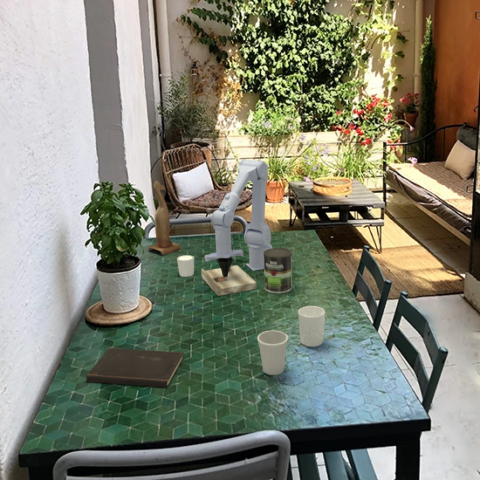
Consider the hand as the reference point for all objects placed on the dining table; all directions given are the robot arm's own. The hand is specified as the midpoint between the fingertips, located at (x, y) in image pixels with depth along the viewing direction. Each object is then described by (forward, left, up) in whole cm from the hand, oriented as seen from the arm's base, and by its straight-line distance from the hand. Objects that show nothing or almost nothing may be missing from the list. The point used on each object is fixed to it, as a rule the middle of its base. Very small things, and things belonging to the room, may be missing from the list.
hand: (225, 276), depth 220 cm
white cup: (-8, +54, -4) cm, 55 cm away
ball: (+2, 0, -2) cm, 2 cm away
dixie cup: (+8, +64, -4) cm, 65 cm away
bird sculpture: (+12, -50, -4) cm, 51 cm away
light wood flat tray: (-2, -1, -3) cm, 4 cm away
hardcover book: (+43, +48, -4) cm, 65 cm away
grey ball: (-4, -8, +1) cm, 8 cm away
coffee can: (-16, +12, -4) cm, 21 cm away
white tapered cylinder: (+10, -17, -4) cm, 20 cm away
